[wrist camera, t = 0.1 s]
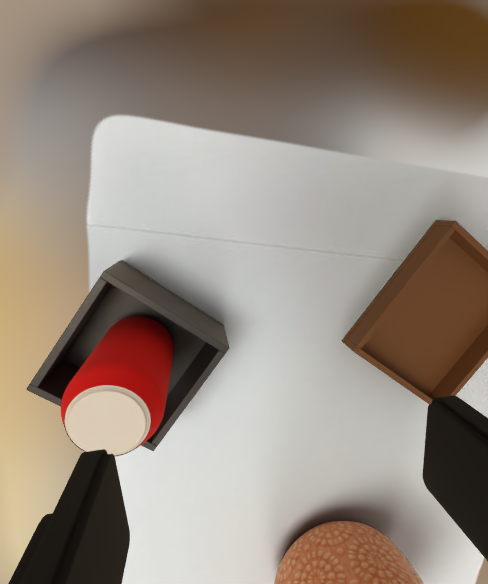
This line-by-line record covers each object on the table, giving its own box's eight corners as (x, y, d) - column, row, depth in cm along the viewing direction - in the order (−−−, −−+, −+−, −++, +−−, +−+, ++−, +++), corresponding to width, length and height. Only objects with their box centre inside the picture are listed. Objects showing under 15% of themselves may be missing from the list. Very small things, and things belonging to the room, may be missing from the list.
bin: (121, 259, 29) (104, 270, 24) (224, 325, 32) (229, 348, 26) (56, 358, 30) (25, 389, 25) (160, 412, 33) (153, 451, 28)
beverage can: (118, 302, 29) (68, 361, 18) (184, 325, 31) (177, 394, 19) (97, 362, 30) (35, 454, 19) (161, 381, 32) (141, 479, 20)
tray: (435, 220, 32) (455, 220, 30) (514, 292, 36) (538, 298, 33) (341, 340, 34) (352, 351, 32) (424, 399, 37) (441, 412, 35)
